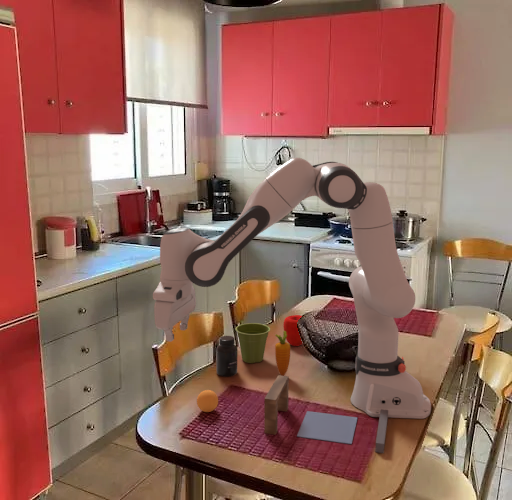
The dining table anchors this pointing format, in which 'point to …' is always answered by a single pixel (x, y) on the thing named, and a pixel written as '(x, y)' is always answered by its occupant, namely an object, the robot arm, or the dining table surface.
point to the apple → (292, 330)
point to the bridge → (275, 403)
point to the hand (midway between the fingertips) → (177, 334)
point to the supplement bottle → (226, 357)
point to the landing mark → (328, 427)
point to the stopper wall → (381, 431)
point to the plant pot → (252, 341)
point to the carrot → (282, 354)
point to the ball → (207, 400)
